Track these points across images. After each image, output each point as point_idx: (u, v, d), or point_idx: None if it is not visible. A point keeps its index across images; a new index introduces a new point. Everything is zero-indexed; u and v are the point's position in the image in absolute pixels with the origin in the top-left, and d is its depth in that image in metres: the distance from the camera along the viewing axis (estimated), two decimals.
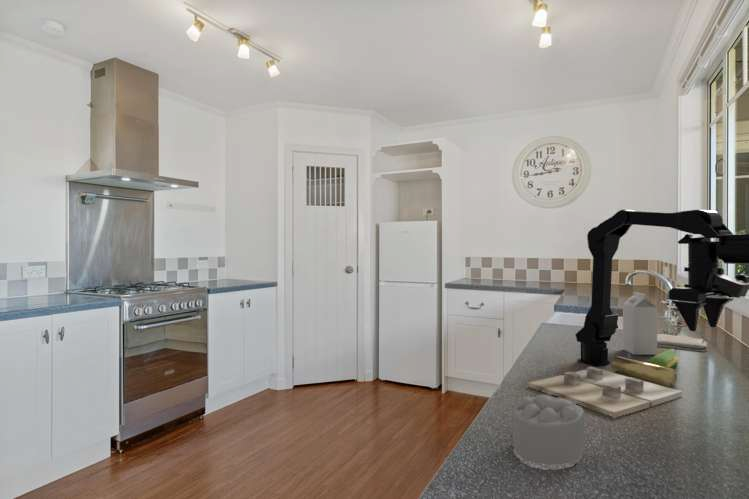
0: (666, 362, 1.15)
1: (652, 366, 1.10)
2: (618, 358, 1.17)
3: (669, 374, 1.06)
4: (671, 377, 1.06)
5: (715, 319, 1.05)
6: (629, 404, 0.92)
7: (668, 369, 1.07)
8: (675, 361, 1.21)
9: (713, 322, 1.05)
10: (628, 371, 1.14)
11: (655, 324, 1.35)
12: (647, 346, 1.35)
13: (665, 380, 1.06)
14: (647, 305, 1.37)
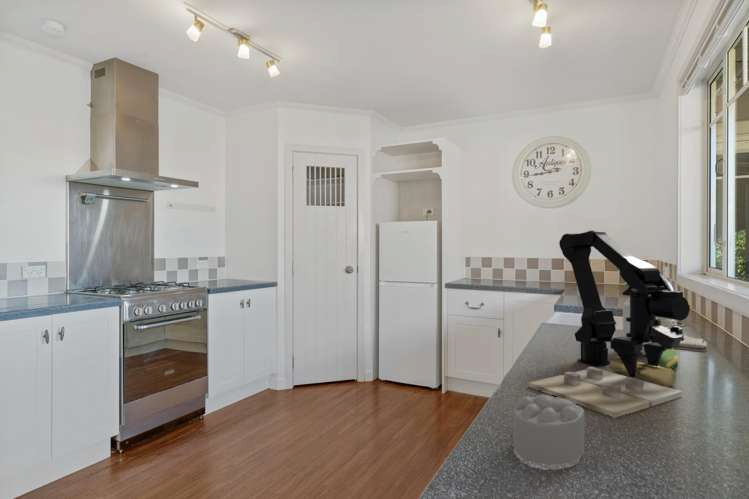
0: (666, 361, 1.15)
1: (649, 368, 1.09)
2: (615, 360, 1.17)
3: (667, 377, 1.05)
4: (669, 378, 1.06)
5: None
6: (629, 404, 0.92)
7: (665, 371, 1.06)
8: (675, 361, 1.21)
9: None
10: (627, 374, 1.13)
11: None
12: None
13: (663, 383, 1.06)
14: None
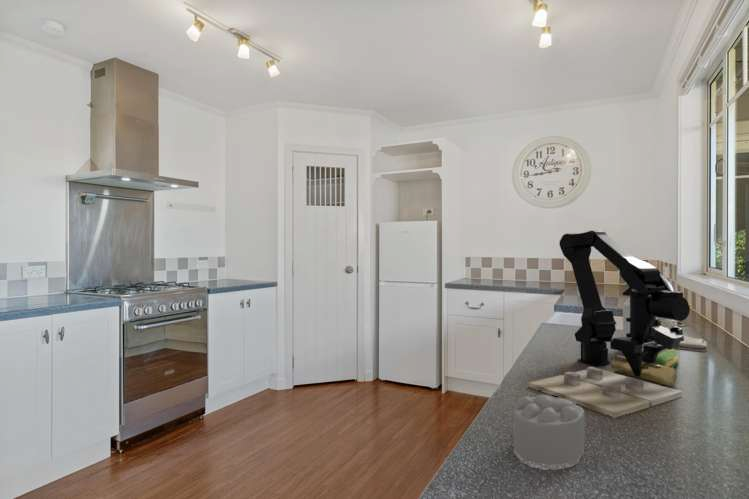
0: (665, 361, 1.15)
1: (652, 365, 1.10)
2: (618, 357, 1.17)
3: (669, 374, 1.06)
4: (671, 376, 1.06)
5: None
6: (629, 404, 0.92)
7: (668, 368, 1.06)
8: (675, 361, 1.21)
9: None
10: (628, 370, 1.14)
11: None
12: None
13: (665, 379, 1.06)
14: None
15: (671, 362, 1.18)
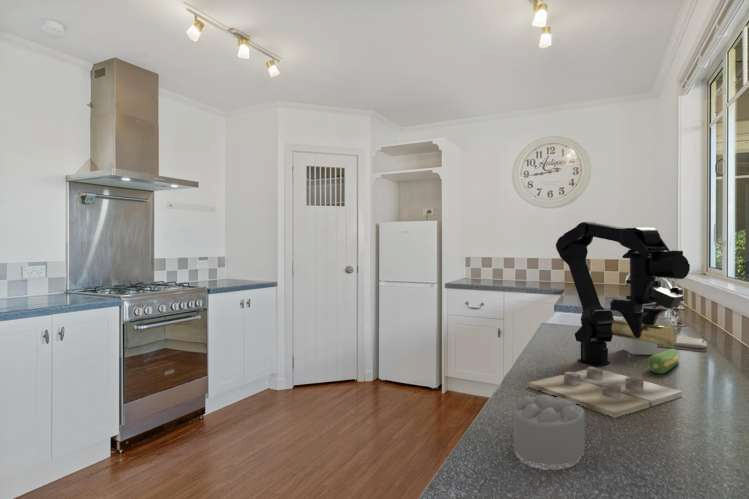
0: (663, 361, 1.16)
1: (652, 326, 1.09)
2: (618, 321, 1.17)
3: (669, 333, 1.06)
4: (671, 336, 1.06)
5: None
6: (629, 404, 0.92)
7: (668, 328, 1.06)
8: (675, 360, 1.21)
9: None
10: (628, 332, 1.13)
11: (655, 324, 1.35)
12: (647, 346, 1.35)
13: (665, 339, 1.06)
14: None
15: (670, 362, 1.19)
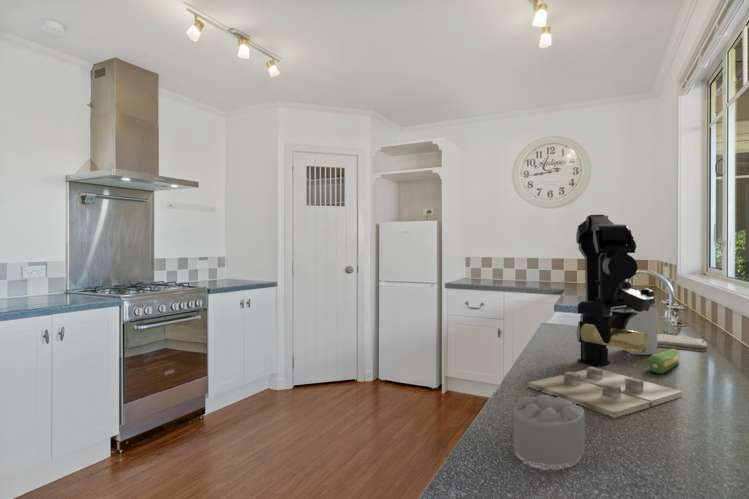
0: (663, 361, 1.16)
1: (622, 330, 1.02)
2: (587, 325, 1.09)
3: (640, 338, 0.98)
4: (642, 341, 0.98)
5: None
6: (629, 404, 0.92)
7: (639, 333, 0.98)
8: (675, 360, 1.21)
9: None
10: (598, 337, 1.05)
11: (655, 324, 1.35)
12: None
13: (635, 344, 0.98)
14: None
15: (670, 362, 1.19)
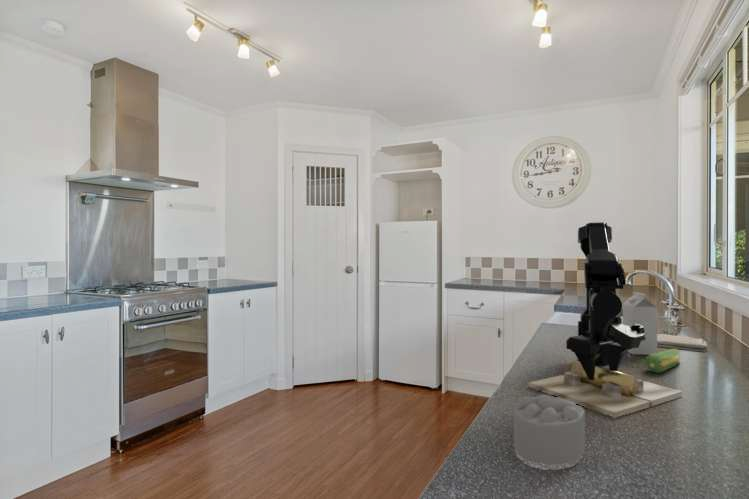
0: (660, 360, 1.16)
1: (611, 372, 1.00)
2: (577, 363, 1.08)
3: (629, 382, 0.96)
4: (631, 385, 0.97)
5: (615, 367, 1.05)
6: (629, 404, 0.92)
7: (628, 376, 0.97)
8: (674, 360, 1.22)
9: (613, 369, 1.05)
10: (587, 378, 1.04)
11: (655, 324, 1.35)
12: (647, 346, 1.35)
13: (624, 388, 0.96)
14: (647, 305, 1.37)
15: (668, 361, 1.19)
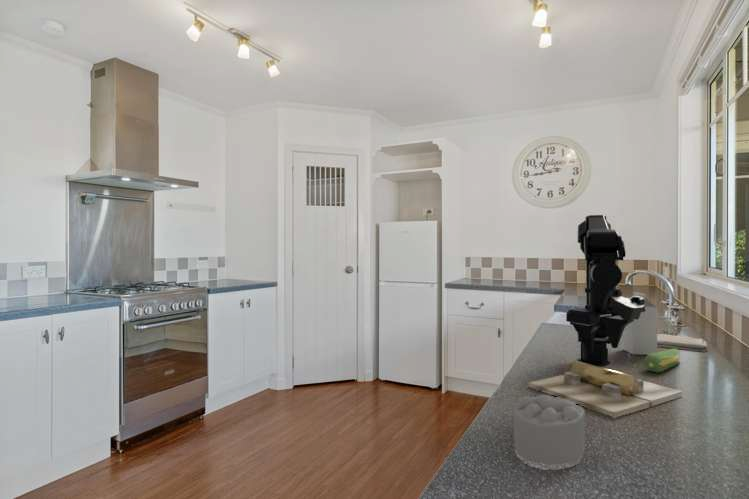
0: (659, 360, 1.17)
1: (611, 372, 1.00)
2: (577, 363, 1.08)
3: (629, 382, 0.96)
4: (631, 385, 0.97)
5: (616, 340, 1.05)
6: (629, 404, 0.92)
7: (628, 376, 0.97)
8: (674, 360, 1.22)
9: (614, 343, 1.05)
10: (587, 378, 1.04)
11: (655, 324, 1.35)
12: (647, 346, 1.35)
13: (624, 388, 0.96)
14: (647, 305, 1.37)
15: (668, 361, 1.19)
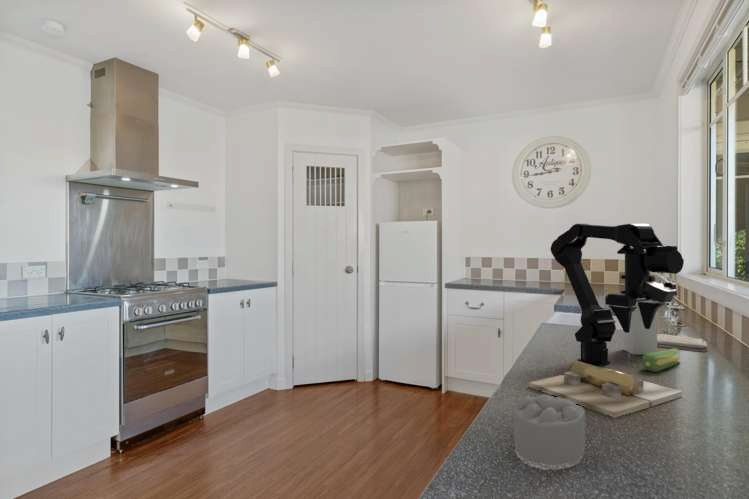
0: (656, 359, 1.18)
1: (611, 372, 1.00)
2: (577, 363, 1.08)
3: (629, 382, 0.96)
4: (631, 385, 0.97)
5: (649, 322, 1.16)
6: (629, 404, 0.92)
7: (628, 376, 0.97)
8: (672, 360, 1.22)
9: (647, 324, 1.17)
10: (587, 378, 1.04)
11: (655, 324, 1.35)
12: (647, 346, 1.35)
13: (624, 388, 0.96)
14: None
15: (666, 361, 1.20)
